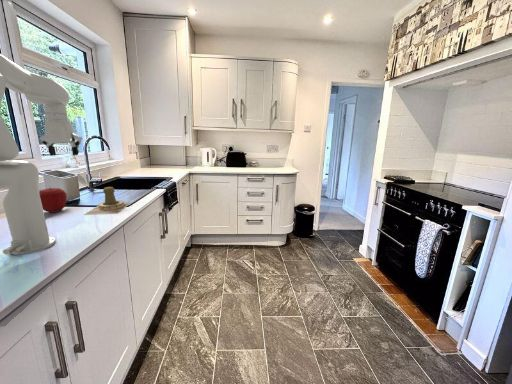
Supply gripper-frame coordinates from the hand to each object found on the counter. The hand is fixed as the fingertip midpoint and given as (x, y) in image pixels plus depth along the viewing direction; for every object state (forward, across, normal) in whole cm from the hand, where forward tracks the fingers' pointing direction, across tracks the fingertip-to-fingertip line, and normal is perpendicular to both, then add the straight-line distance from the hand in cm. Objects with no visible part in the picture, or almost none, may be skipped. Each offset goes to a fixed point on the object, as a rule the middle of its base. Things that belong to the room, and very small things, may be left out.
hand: (64, 155), depth 112 cm
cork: (+30, +13, +10) cm, 34 cm away
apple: (+31, -14, +8) cm, 34 cm away
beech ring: (+29, +13, +10) cm, 34 cm away
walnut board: (+30, +13, +7) cm, 34 cm away
